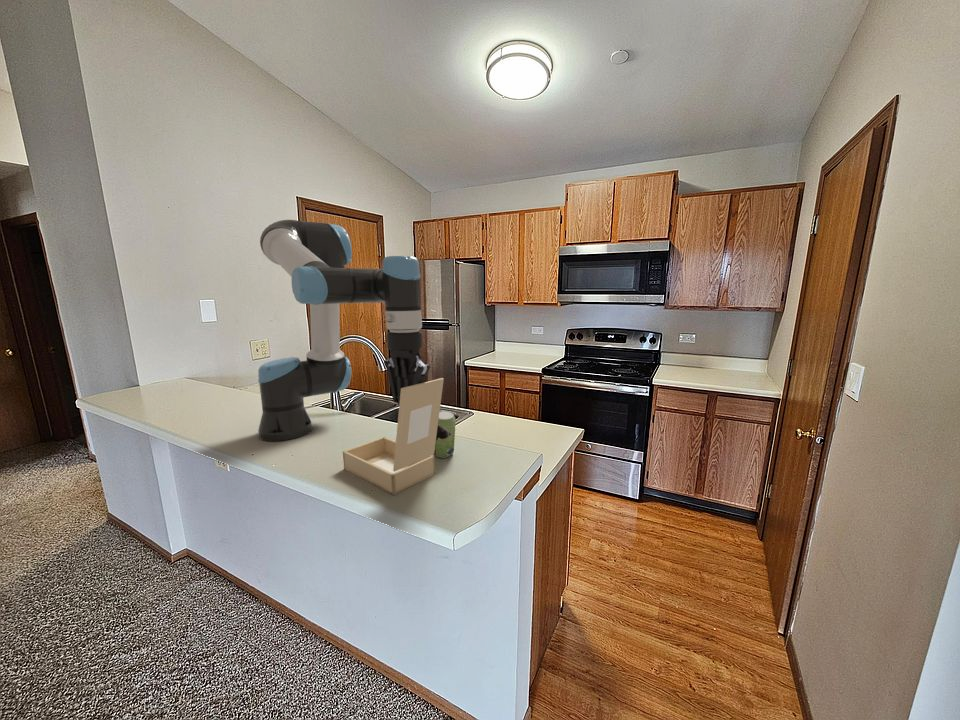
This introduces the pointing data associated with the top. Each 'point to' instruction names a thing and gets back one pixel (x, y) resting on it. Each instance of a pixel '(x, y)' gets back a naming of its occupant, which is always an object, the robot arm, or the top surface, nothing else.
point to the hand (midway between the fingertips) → (409, 434)
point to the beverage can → (445, 434)
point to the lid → (417, 422)
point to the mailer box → (386, 466)
